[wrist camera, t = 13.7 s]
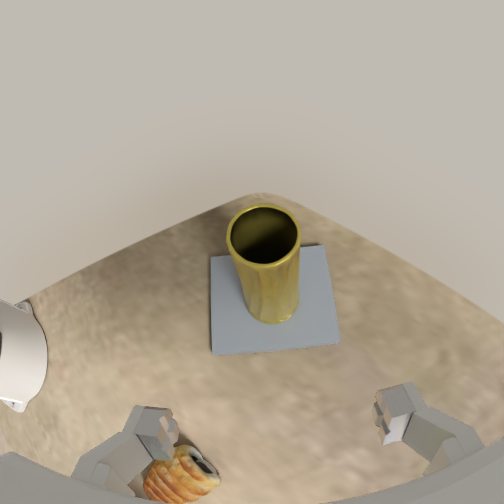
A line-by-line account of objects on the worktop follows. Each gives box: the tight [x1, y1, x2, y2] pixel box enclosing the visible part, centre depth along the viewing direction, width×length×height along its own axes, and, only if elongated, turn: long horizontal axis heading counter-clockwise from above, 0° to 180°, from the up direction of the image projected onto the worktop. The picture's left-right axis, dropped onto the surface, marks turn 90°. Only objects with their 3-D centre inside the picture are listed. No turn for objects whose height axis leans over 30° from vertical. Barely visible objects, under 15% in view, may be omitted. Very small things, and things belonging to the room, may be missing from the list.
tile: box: [211, 245, 340, 356], centre depth 33 cm, size 14×12×1 cm
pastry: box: [143, 445, 221, 504], centre depth 23 cm, size 9×7×4 cm
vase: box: [226, 203, 301, 324], centre depth 26 cm, size 6×6×14 cm
